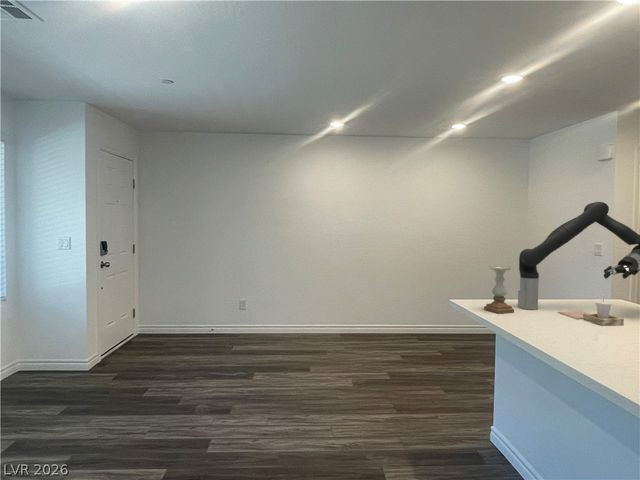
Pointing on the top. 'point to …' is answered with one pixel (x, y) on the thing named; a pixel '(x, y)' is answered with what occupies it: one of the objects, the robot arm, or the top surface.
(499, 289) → the candle holder
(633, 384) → the top surface
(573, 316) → the tile
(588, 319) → the square wooden tray
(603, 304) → the smoothie
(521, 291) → the robot arm
